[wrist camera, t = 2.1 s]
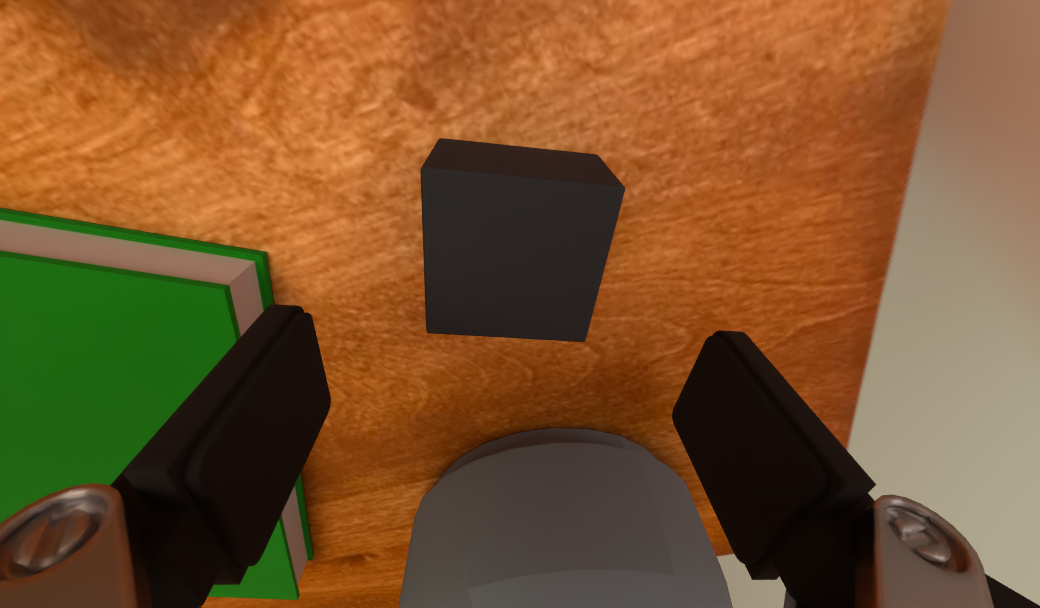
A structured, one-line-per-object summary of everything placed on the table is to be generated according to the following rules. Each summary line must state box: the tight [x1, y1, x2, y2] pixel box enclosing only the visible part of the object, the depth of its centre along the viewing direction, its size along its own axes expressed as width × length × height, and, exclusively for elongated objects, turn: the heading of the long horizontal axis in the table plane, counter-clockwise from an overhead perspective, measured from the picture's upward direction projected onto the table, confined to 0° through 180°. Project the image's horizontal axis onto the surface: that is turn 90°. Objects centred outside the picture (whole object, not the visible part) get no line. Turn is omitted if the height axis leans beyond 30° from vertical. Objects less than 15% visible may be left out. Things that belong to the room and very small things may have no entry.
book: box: [0, 208, 314, 600], centre depth 21 cm, size 22×28×3 cm
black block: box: [421, 138, 625, 342], centre depth 14 cm, size 6×6×4 cm
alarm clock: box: [399, 428, 733, 608], centre depth 24 cm, size 19×20×12 cm
